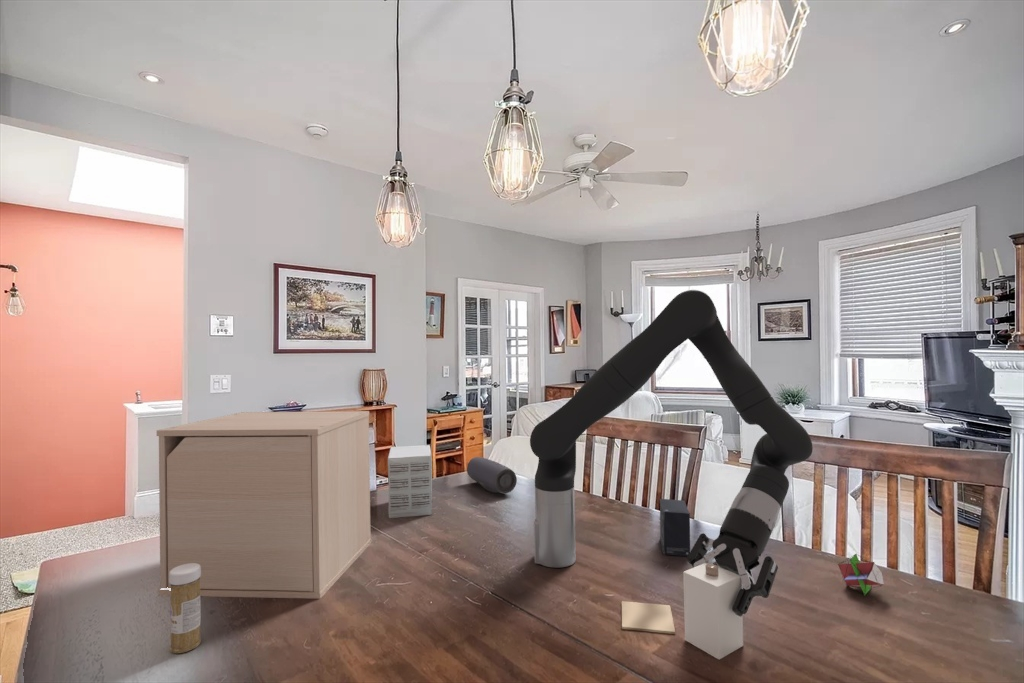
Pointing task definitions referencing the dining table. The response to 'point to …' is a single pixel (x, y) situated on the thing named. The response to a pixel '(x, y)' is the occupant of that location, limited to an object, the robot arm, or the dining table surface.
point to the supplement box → (410, 481)
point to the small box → (674, 527)
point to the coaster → (647, 617)
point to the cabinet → (265, 501)
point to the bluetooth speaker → (492, 475)
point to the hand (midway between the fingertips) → (712, 602)
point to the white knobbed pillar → (712, 609)
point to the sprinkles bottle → (185, 607)
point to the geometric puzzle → (861, 574)
